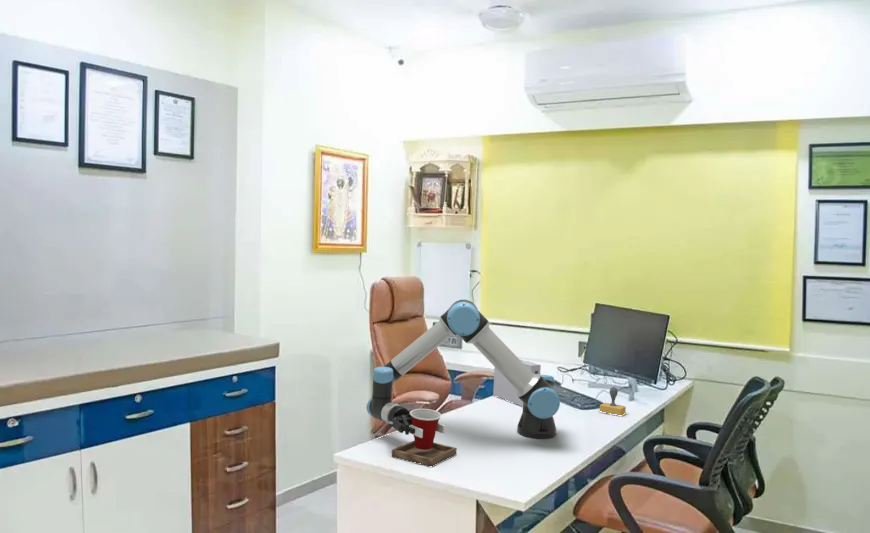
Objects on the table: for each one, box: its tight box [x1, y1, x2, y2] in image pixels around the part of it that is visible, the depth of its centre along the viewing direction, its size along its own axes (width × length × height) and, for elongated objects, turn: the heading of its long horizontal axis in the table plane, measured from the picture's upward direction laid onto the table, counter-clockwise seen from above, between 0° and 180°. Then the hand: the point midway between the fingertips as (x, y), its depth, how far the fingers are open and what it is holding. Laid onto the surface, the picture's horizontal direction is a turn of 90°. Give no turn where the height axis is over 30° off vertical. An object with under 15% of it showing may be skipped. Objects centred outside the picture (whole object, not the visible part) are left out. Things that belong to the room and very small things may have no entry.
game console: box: [492, 359, 542, 407], centre depth 308 cm, size 6×27×20 cm, turn 31°
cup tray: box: [391, 439, 458, 467], centre depth 227 cm, size 16×16×2 cm
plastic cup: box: [409, 408, 442, 450], centre depth 226 cm, size 11×11×12 cm
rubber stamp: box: [599, 386, 627, 416], centre depth 294 cm, size 10×6×12 cm, turn 55°
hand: (433, 431), depth 223 cm, fingers closed on plastic cup, 9 cm apart
